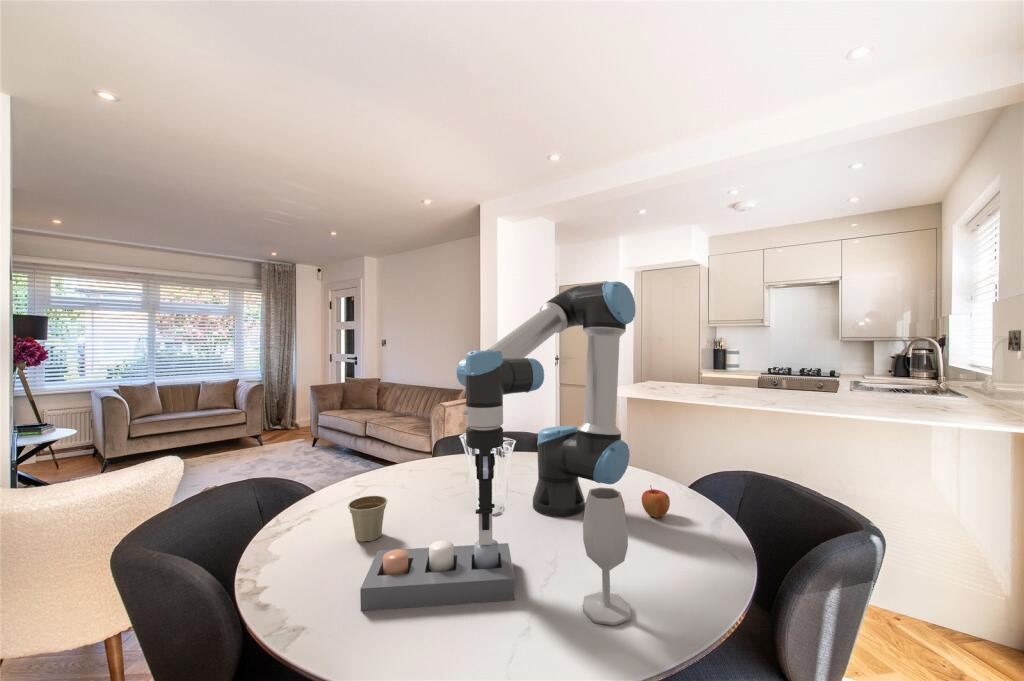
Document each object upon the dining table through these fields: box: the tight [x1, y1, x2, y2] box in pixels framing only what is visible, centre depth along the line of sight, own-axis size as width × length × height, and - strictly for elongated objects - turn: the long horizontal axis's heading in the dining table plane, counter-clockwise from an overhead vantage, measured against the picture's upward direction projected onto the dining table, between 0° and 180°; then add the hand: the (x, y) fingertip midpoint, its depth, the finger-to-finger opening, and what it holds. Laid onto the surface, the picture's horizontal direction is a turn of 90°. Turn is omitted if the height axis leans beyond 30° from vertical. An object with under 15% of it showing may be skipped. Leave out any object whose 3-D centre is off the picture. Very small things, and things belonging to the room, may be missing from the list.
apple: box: [641, 485, 671, 519], centre depth 115 cm, size 7×7×8 cm
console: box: [360, 542, 516, 612], centre depth 84 cm, size 28×14×4 cm, turn 95°
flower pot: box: [347, 495, 389, 543], centre depth 105 cm, size 9×9×9 cm
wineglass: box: [581, 487, 632, 626], centre depth 75 cm, size 9×9×21 cm
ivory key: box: [428, 540, 454, 572], centre depth 84 cm, size 5×5×4 cm
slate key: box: [473, 538, 499, 569], centre depth 85 cm, size 5×5×4 cm
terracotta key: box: [383, 548, 408, 575], centre depth 83 cm, size 5×5×4 cm
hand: (485, 543), depth 85 cm, fingers closed
